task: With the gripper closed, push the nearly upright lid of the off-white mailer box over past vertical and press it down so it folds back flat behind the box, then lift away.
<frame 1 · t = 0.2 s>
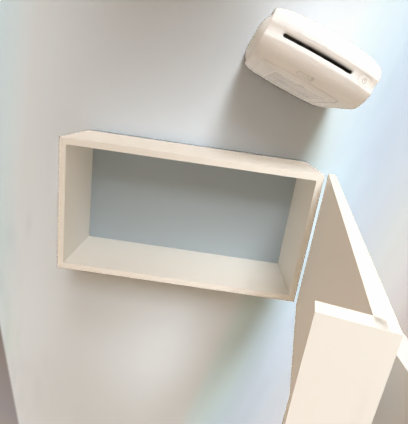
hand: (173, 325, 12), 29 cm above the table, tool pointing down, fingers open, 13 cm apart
mailer lid: (304, 306, 22), point 20 cm above the table, hinge at 76.3°
photo printer: (290, 70, 37), on the table
mailer box: (190, 201, 41), on the table
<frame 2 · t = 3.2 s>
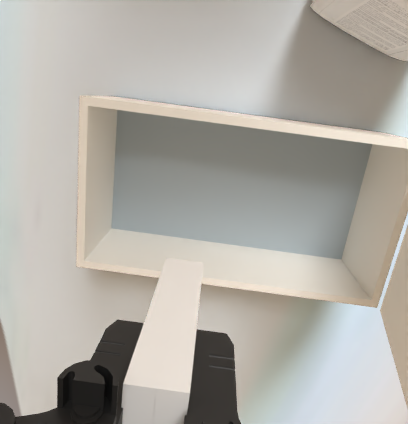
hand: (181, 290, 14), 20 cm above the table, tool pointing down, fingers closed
photo printer: (367, 15, 29), on the table
mailer box: (235, 184, 34), on the table
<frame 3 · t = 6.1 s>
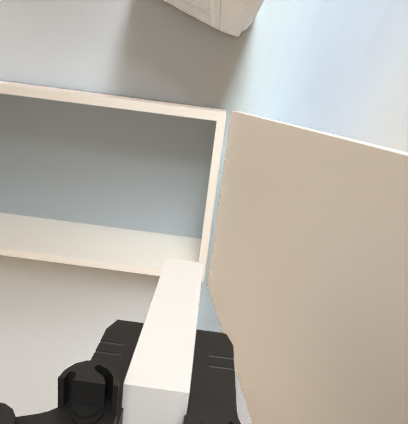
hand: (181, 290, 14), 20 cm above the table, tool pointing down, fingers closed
mailer lid: (268, 296, 15), point 20 cm above the table, hinge at 102.1°, touching hand
mailer box: (90, 163, 34), on the table
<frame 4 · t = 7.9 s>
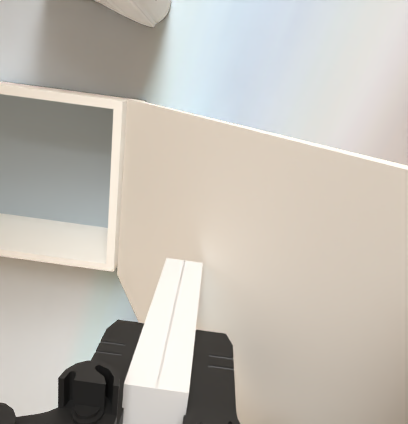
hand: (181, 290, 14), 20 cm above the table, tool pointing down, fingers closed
mailer lid: (177, 275, 16), point 19 cm above the table, hinge at 118.2°, touching gripper, hand
mailer box: (16, 154, 34), on the table
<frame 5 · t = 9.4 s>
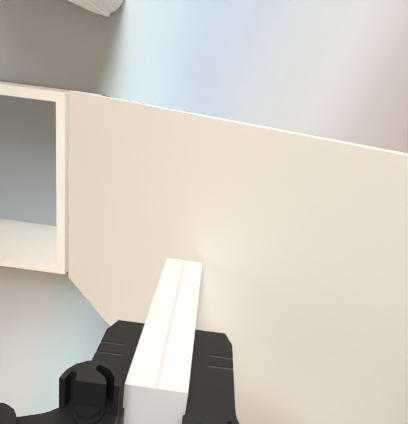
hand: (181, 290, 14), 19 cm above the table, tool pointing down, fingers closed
mailer lid: (163, 269, 16), point 17 cm above the table, hinge at 133.0°, touching gripper
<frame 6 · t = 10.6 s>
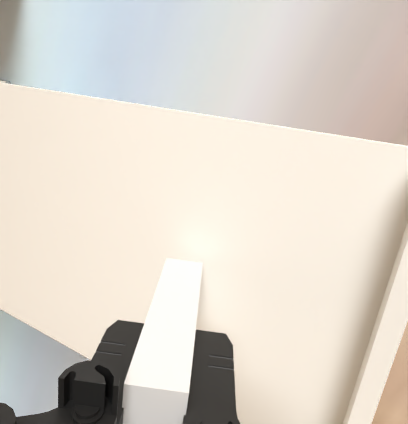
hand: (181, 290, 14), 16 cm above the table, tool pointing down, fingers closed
mailer lid: (92, 250, 16), point 14 cm above the table, hinge at 154.9°, touching gripper
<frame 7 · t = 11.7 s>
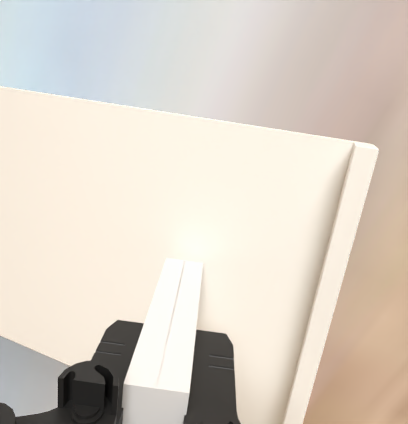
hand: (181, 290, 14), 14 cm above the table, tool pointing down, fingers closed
mailer lid: (46, 246, 16), point 12 cm above the table, hinge at 161.8°, touching gripper
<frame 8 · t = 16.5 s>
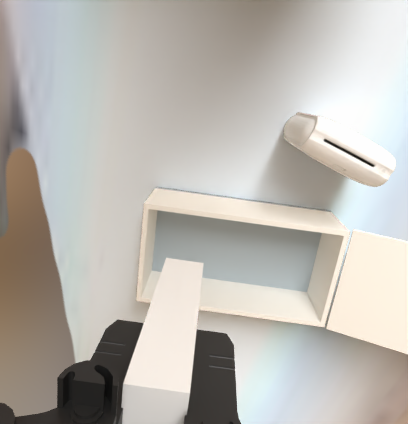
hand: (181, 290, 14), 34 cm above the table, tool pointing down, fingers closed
photo printer: (320, 141, 46), on the table
mailer box: (235, 242, 51), on the table
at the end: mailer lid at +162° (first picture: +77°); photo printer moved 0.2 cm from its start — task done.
